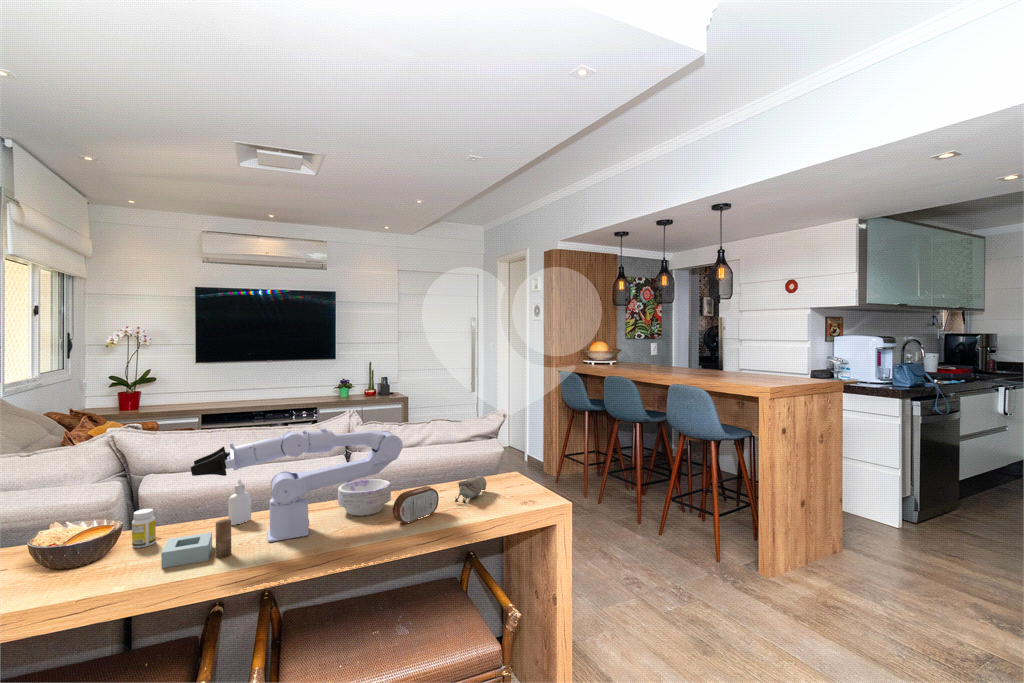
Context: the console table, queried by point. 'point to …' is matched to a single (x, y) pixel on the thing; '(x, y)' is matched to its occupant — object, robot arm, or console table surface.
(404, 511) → the tin
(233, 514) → the eye dropper bottle
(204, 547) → the socket block
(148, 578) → the console table surface
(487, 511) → the console table surface
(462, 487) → the decorative bird
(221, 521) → the pin
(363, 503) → the paper bowls
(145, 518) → the supplement bottle
